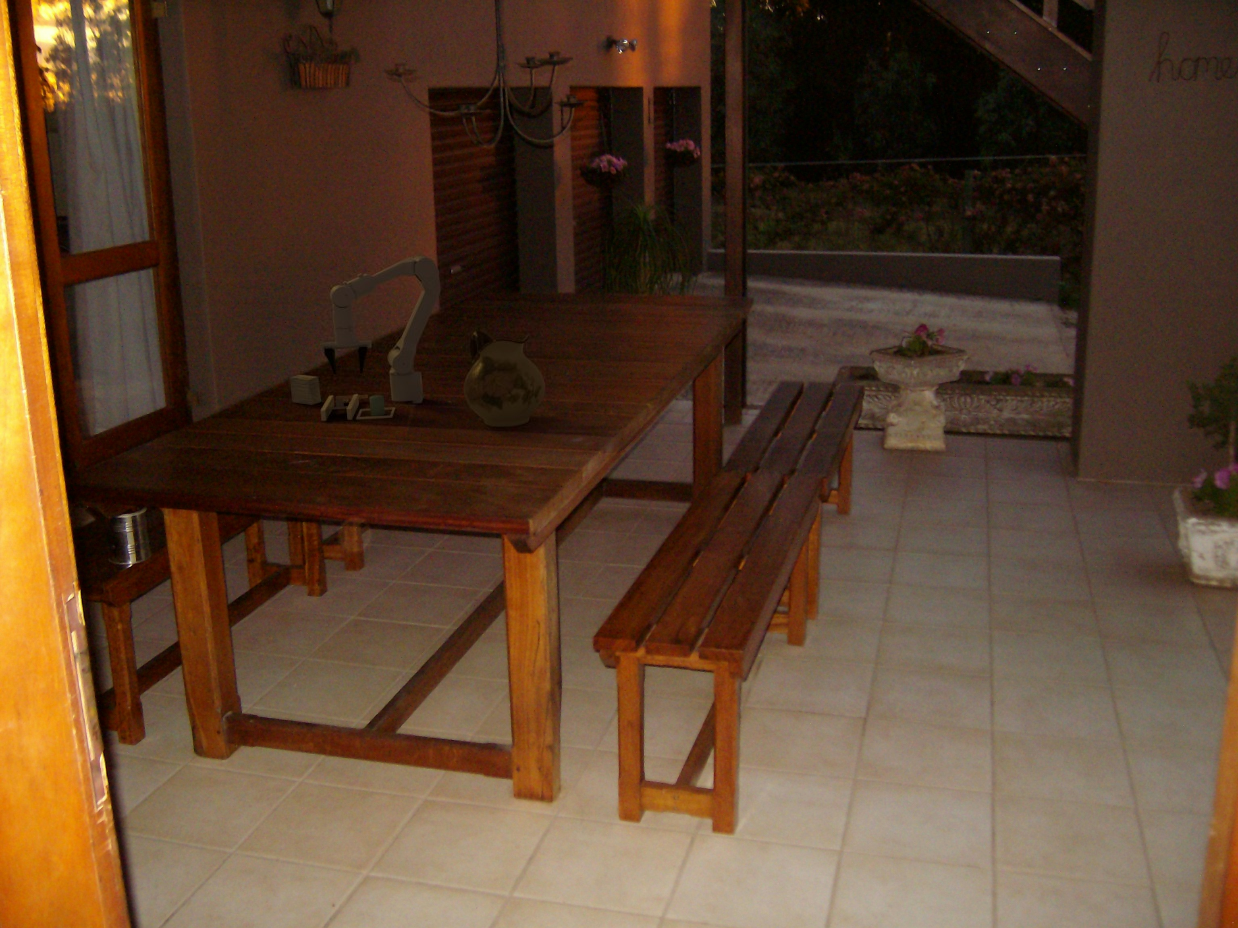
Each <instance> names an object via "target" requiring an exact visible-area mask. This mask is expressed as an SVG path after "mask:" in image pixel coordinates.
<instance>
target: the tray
mask: <svg viewBox="0 0 1238 928" xmlns="http://www.w3.org/2000/svg"><path fill="white" fill-rule="evenodd" d="M389 410H390V411H391V412H390V414H389V415H382V416H361V415H362V413H363V412H371V411H370V408H361V409H359V411H358V413H357V415H356V417H355V419H356V420H370V419H372V420H373V419H375V420H376V419H391V418H393V416H394V414H395V411H396V406H394V407H385V411H389Z"/></svg>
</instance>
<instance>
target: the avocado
mask: <svg viewBox="0 0 1238 928" xmlns="http://www.w3.org/2000/svg"><path fill="white" fill-rule="evenodd" d="M368 399H369V409H370V411H369V412H370V417H372V416H386V410H385V408H386V407H385V398H384V395H381V394H375V395H371V396H368Z"/></svg>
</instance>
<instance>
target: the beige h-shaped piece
mask: <svg viewBox="0 0 1238 928" xmlns="http://www.w3.org/2000/svg"><path fill="white" fill-rule="evenodd" d="M352 395H353V397H352V399H350V400H349V404H348V407H347V409H346V416H347V421H348V420H353V418H354V417H355V416H354V415H355V414H356V411H357V409H358V407H359V405H360V399H359V398H358V395H359V393H356V394H352ZM334 399H335V398H334V395H328V397H327V399H326V401H325V402H324V404H323V406H322V407H321V409H320V416H321V418H320V419H321V422H326V421H327V420H328V418H329V416H330V414H331V413H332V411H333V409H331V410H330V409H327V407H335V400H334Z"/></svg>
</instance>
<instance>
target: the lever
mask: <svg viewBox="0 0 1238 928" xmlns="http://www.w3.org/2000/svg"><path fill="white" fill-rule="evenodd" d="M353 395H354V394H351V395H336V396H335V406H334V407H327V409H330V410H331V409H332V410H347V407H348V406H346V405H344V403H348V402H349V403H350V400H351V399H352V397H353ZM358 398H359V400H360V399H369V395H368V394H358Z"/></svg>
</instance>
